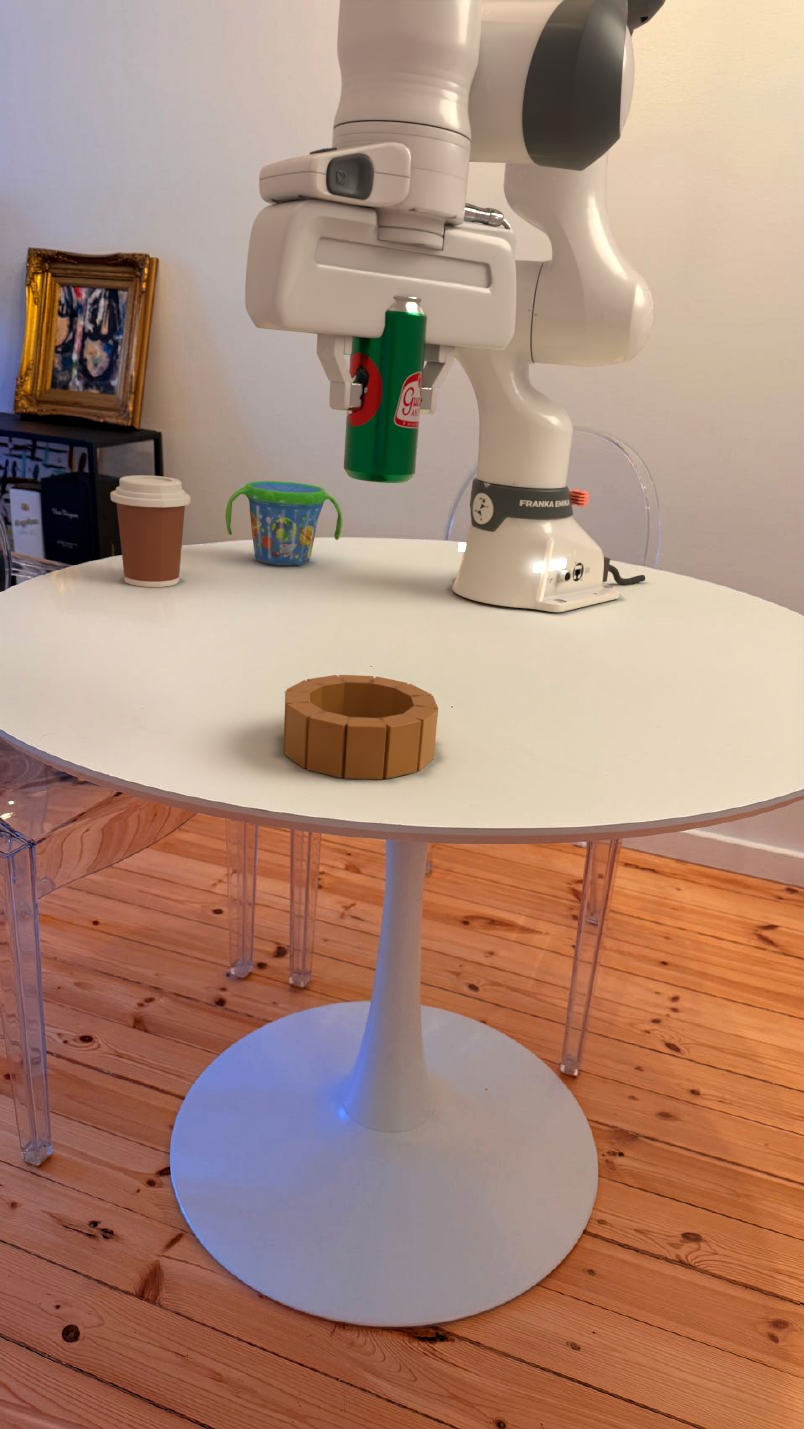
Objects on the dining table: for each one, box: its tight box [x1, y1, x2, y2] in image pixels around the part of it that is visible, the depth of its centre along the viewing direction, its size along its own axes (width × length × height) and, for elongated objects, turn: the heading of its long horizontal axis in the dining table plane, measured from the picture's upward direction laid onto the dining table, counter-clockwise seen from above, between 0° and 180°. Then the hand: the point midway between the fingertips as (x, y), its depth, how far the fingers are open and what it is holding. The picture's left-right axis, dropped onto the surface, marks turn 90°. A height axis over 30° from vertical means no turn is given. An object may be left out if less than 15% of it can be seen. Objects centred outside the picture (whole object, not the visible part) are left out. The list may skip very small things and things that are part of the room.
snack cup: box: [225, 480, 343, 566], centre depth 133 cm, size 16×10×10 cm
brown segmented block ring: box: [283, 674, 439, 780], centre depth 74 cm, size 11×11×4 cm
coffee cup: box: [110, 474, 192, 588], centre depth 117 cm, size 9×9×12 cm
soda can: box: [343, 295, 427, 484], centre depth 68 cm, size 5×5×12 cm
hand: (383, 411), depth 69 cm, fingers closed on soda can, 5 cm apart
